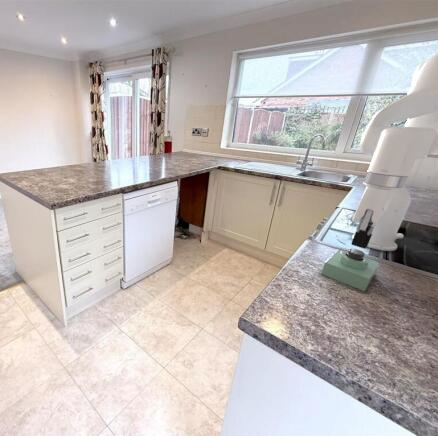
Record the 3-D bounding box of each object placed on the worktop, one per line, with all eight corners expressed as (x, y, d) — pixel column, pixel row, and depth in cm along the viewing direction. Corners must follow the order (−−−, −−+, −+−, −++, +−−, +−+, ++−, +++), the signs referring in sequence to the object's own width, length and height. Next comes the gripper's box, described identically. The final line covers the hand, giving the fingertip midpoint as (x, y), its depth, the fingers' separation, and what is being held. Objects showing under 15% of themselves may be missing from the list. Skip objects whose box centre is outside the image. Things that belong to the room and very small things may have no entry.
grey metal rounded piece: (348, 253, 72) (350, 247, 71) (363, 258, 69) (366, 252, 68) (344, 257, 70) (347, 251, 69) (360, 262, 67) (363, 256, 66)
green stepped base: (334, 260, 79) (340, 243, 76) (374, 274, 71) (382, 257, 69) (321, 273, 71) (327, 256, 69) (364, 291, 64) (372, 272, 62)
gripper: (371, 174, 68) (349, 234, 75) (357, 181, 59) (334, 248, 66) (409, 179, 63) (382, 243, 69) (400, 188, 54) (370, 260, 61)
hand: (358, 245), depth 68 cm, fingers closed
